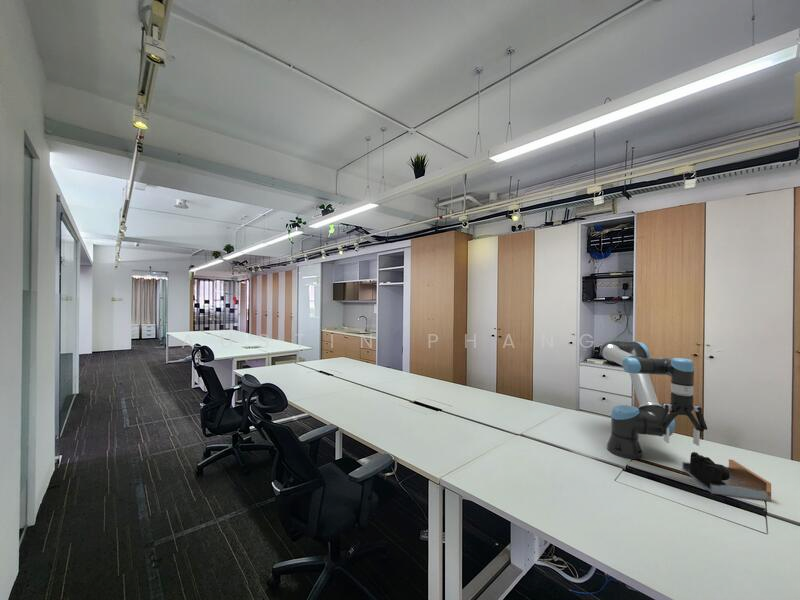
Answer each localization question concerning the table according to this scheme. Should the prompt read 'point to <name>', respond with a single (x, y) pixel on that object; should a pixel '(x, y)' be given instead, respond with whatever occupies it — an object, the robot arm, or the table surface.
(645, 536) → the table surface
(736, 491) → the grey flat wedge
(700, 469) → the camera
